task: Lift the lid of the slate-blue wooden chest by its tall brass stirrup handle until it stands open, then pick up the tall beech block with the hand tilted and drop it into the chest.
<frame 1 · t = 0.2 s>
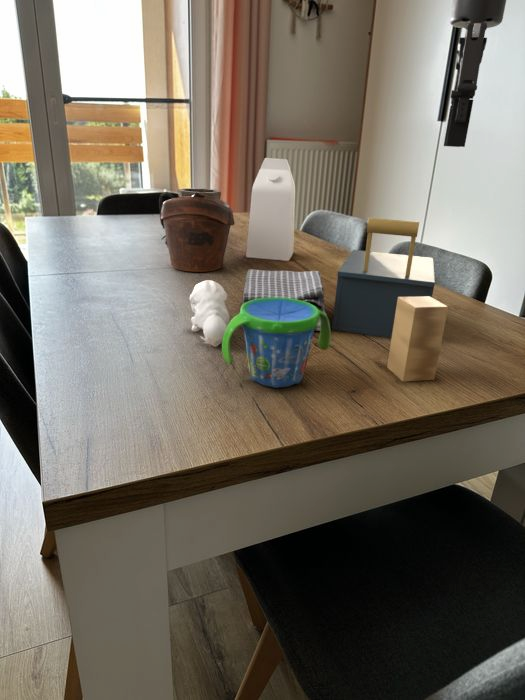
hand: (453, 146, 85), 31 cm above the table, tool pointing down, fingers open, 13 cm apart
towel: (282, 316, 97), on the table
mug: (190, 239, 165), on the table
chest lid: (392, 241, 92), point 15 cm above the table, hinge at 0.0°
white animal figurine: (211, 338, 85), on the table
snack cup: (275, 379, 72), on the table
beech block: (410, 373, 75), on the table
milk: (270, 255, 148), on the table
brown pot: (196, 267, 131), on the table
chest: (381, 319, 98), on the table
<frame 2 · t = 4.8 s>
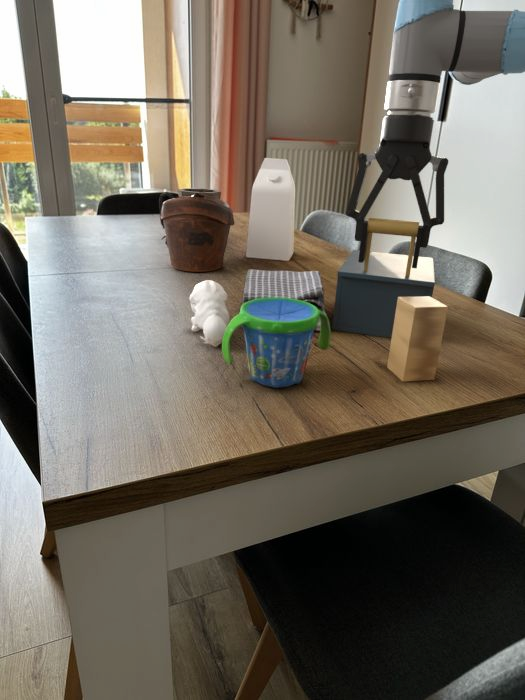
hand: (387, 263, 86), 12 cm above the table, tool pointing down, fingers closed on chest lid, 8 cm apart
chest lid: (392, 241, 92), point 15 cm above the table, hinge at 0.0°, touching gripper
everything else where it was.
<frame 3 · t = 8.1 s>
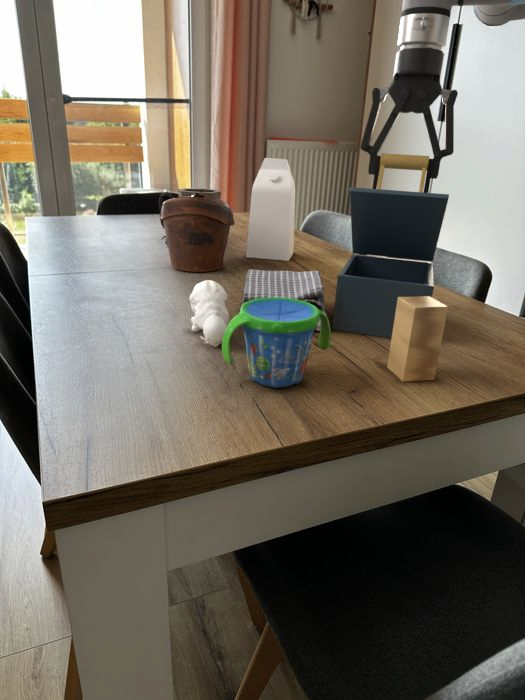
hand: (399, 196, 91), 23 cm above the table, tool pointing down, fingers closed on chest lid, 8 cm apart
chest lid: (398, 206, 95), point 20 cm above the table, hinge at 40.5°, touching gripper
everything else where it was.
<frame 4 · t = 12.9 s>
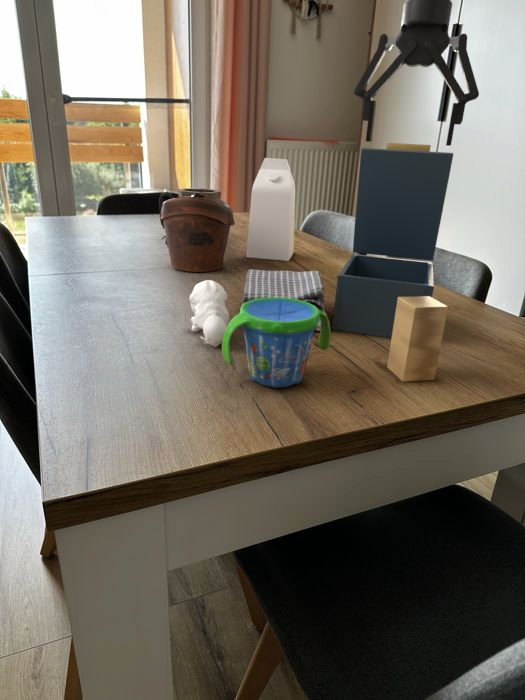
hand: (407, 143, 90), 31 cm above the table, tool pointing down, fingers open, 13 cm apart
chest lid: (400, 197, 100), point 22 cm above the table, hinge at 72.8°
everything else where it was.
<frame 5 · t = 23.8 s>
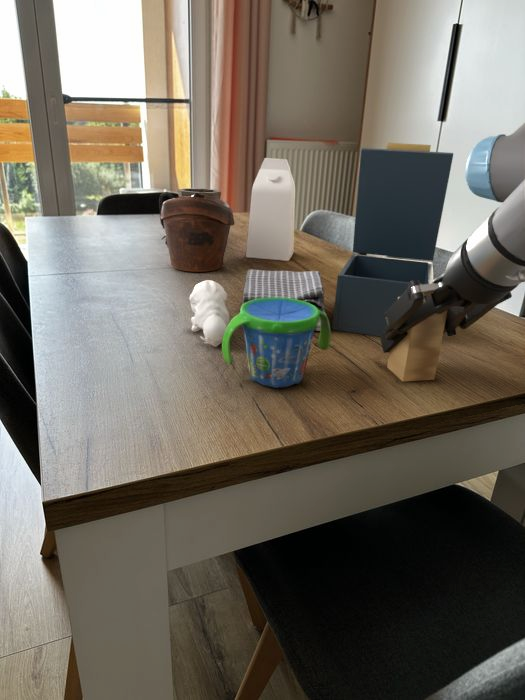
hand: (401, 343, 77), 3 cm above the table, tool tilted 45°, fingers closed on beech block, 5 cm apart
beech block: (410, 373, 75), on the table, touching gripper
everything else where it was.
when the fingers open (13 cm above the table, at t = 32.7 s): beech block drops 9 cm, resting on chest.
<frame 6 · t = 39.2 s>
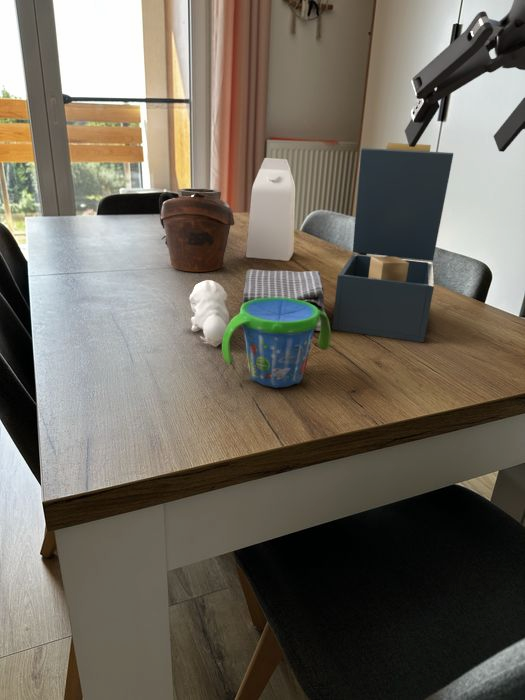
hand: (454, 141, 69), 32 cm above the table, tool tilted 45°, fingers open, 13 cm apart
beech block: (381, 317, 96), point 1 cm above the table, touching chest
everything else where it was.
at the end: chest lid at +73° (first picture: +0°); beech block inside the target area in the chest (2.0 cm from its centre), point 0.9 cm above the chest's base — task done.
